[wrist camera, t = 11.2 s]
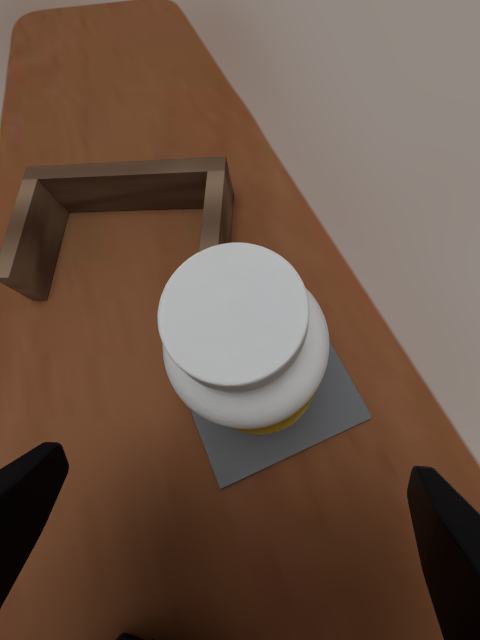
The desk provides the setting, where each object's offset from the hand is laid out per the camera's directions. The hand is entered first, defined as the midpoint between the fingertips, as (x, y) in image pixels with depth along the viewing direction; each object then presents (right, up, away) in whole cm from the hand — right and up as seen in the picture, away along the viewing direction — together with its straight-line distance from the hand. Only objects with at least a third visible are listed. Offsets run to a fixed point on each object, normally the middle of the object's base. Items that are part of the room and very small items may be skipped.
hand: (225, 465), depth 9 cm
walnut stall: (-8, +9, +19) cm, 23 cm away
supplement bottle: (+2, 0, +14) cm, 14 cm away
